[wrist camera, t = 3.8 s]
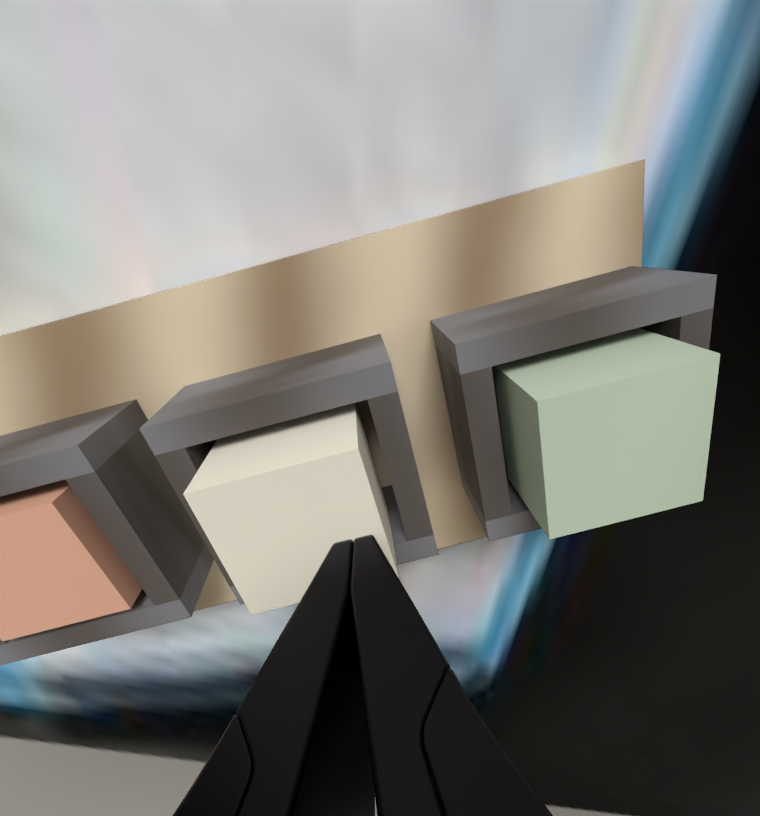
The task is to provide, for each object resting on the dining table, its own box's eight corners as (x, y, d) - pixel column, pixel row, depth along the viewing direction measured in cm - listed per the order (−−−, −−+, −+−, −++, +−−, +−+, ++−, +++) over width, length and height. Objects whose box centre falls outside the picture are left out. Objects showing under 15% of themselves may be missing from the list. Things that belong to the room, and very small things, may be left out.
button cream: (354, 399, 11) (357, 448, 9) (388, 508, 13) (398, 577, 10) (219, 435, 11) (183, 494, 9) (269, 539, 13) (251, 614, 10)
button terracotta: (111, 448, 12) (51, 503, 10) (169, 541, 14) (130, 608, 12) (-7, 479, 13) (-97, 541, 10) (64, 568, 14) (2, 641, 12)
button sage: (632, 326, 11) (720, 353, 8) (629, 446, 13) (703, 500, 10) (492, 363, 11) (537, 401, 8) (508, 478, 13) (549, 539, 10)
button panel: (617, 166, 12) (745, 133, 8) (616, 481, 17) (696, 554, 13) (-89, 360, 13) (-279, 415, 9) (108, 611, 17) (42, 717, 14)
